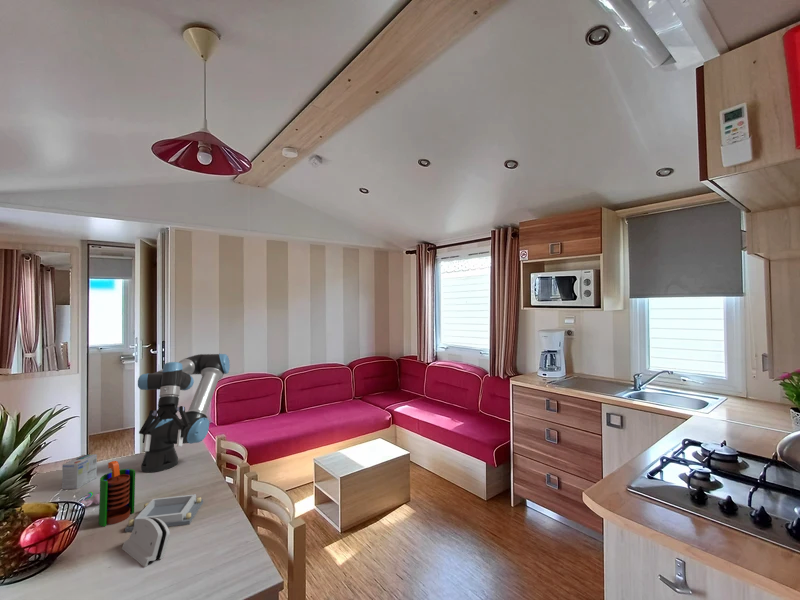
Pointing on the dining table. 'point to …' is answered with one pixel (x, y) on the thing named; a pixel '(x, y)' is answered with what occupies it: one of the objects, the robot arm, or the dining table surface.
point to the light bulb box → (79, 471)
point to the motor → (116, 495)
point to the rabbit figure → (89, 502)
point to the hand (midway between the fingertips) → (162, 448)
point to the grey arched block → (147, 540)
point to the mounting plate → (170, 510)
